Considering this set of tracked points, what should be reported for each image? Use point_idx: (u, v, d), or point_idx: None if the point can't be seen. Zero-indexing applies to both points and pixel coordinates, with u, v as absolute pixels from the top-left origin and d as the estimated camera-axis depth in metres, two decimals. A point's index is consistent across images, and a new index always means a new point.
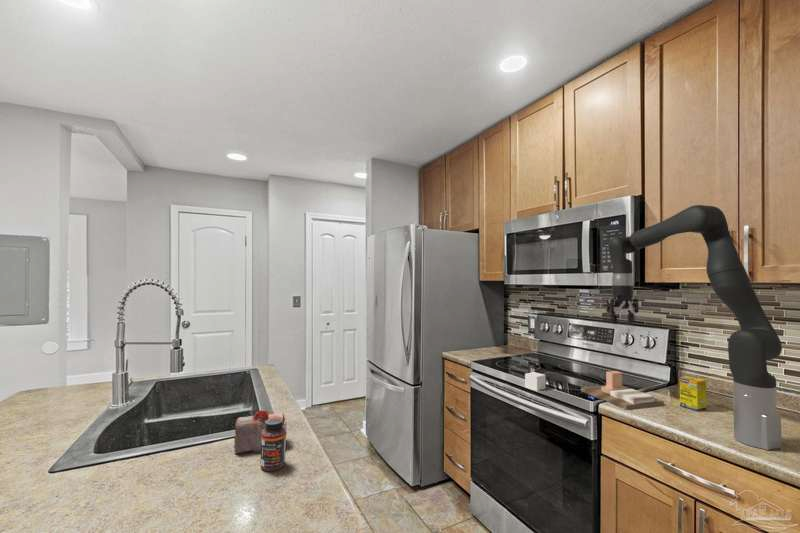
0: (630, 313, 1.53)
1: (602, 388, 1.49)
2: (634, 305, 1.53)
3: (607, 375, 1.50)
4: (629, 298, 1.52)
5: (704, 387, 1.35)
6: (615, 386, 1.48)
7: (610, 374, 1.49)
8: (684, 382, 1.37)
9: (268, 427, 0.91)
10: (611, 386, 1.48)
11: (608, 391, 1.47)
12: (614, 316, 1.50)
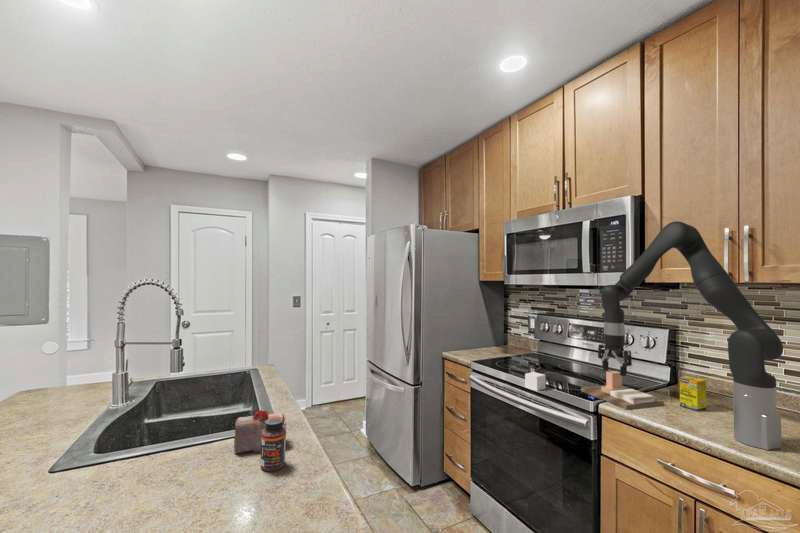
0: (606, 360, 1.54)
1: (602, 388, 1.49)
2: (603, 351, 1.56)
3: (607, 375, 1.50)
4: None
5: (704, 387, 1.35)
6: (615, 386, 1.48)
7: (610, 374, 1.49)
8: (684, 382, 1.37)
9: (268, 427, 0.91)
10: (611, 386, 1.48)
11: (608, 391, 1.47)
12: None
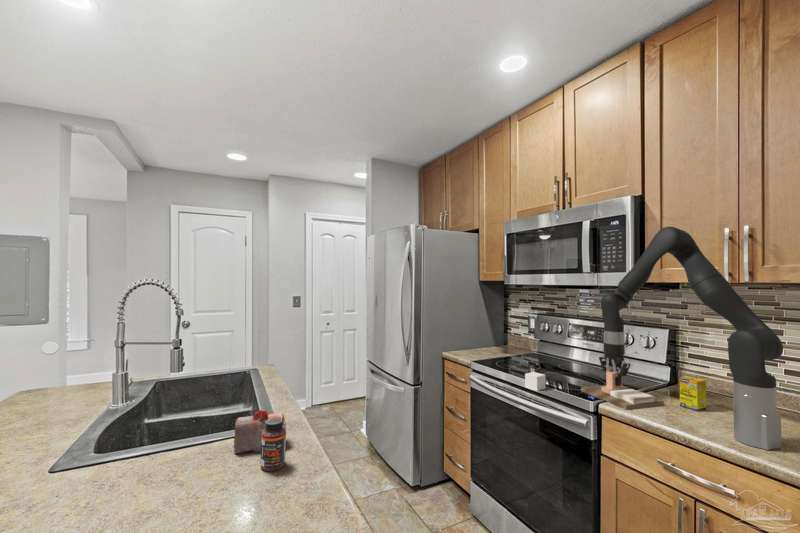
0: None
1: (602, 388, 1.49)
2: (606, 363, 1.55)
3: (607, 375, 1.50)
4: None
5: (704, 387, 1.35)
6: (615, 386, 1.48)
7: (610, 374, 1.49)
8: (684, 382, 1.37)
9: (268, 427, 0.91)
10: (611, 386, 1.48)
11: (608, 391, 1.47)
12: None
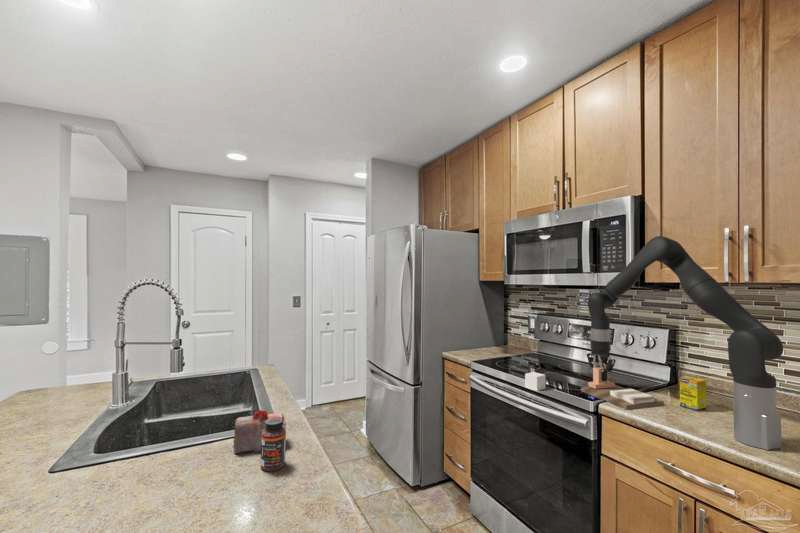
0: None
1: (589, 383, 1.56)
2: (593, 359, 1.61)
3: (594, 371, 1.57)
4: None
5: (704, 387, 1.35)
6: (601, 381, 1.55)
7: (596, 370, 1.55)
8: (684, 382, 1.37)
9: (268, 427, 0.91)
10: (597, 381, 1.55)
11: (594, 386, 1.53)
12: None
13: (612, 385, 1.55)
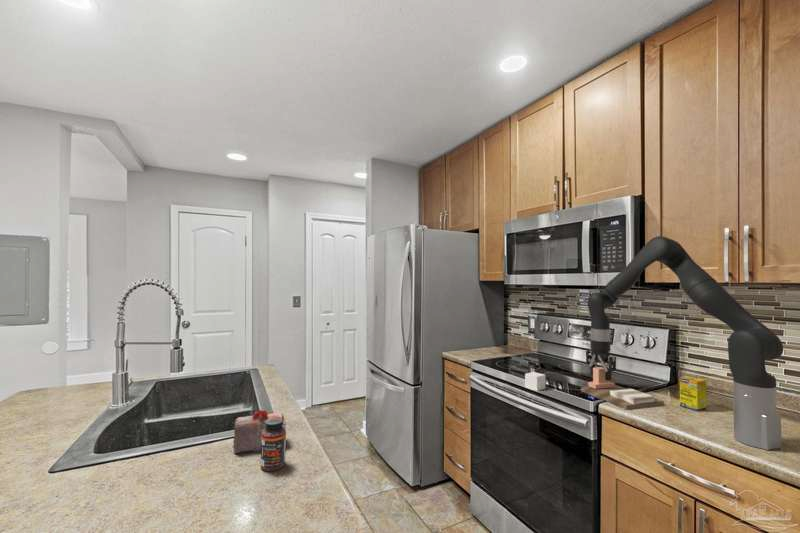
0: (593, 366, 1.60)
1: (589, 383, 1.56)
2: (591, 357, 1.62)
3: (594, 371, 1.57)
4: None
5: (704, 387, 1.35)
6: (601, 381, 1.55)
7: (596, 370, 1.55)
8: (684, 382, 1.37)
9: (268, 427, 0.91)
10: (597, 381, 1.55)
11: (594, 386, 1.53)
12: None
13: (612, 385, 1.55)
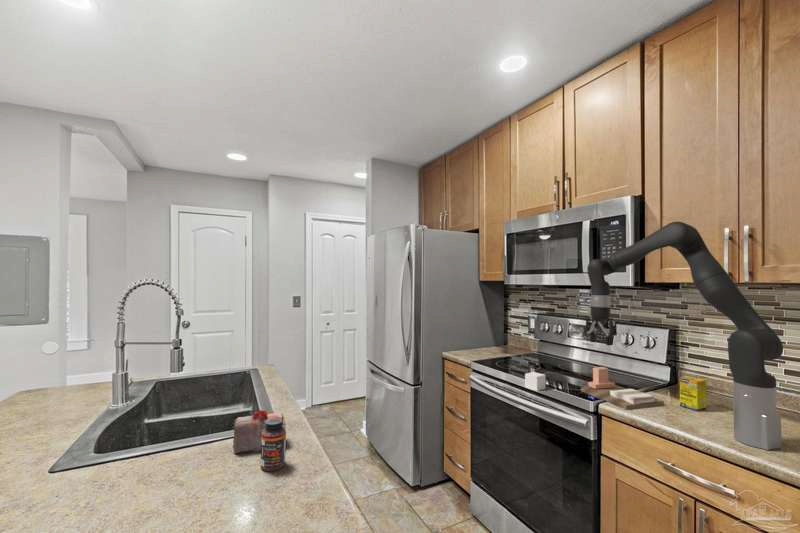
0: (593, 332, 1.61)
1: (589, 383, 1.56)
2: (590, 324, 1.63)
3: (594, 371, 1.57)
4: None
5: (704, 387, 1.35)
6: (601, 381, 1.55)
7: (596, 370, 1.55)
8: (684, 382, 1.37)
9: (268, 427, 0.91)
10: (597, 381, 1.55)
11: (594, 386, 1.53)
12: None
13: (612, 385, 1.55)
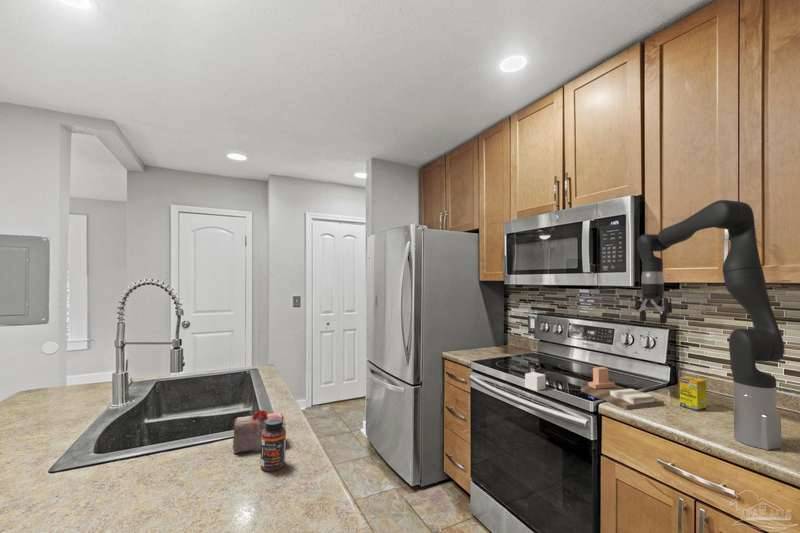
0: (643, 311, 1.54)
1: (589, 383, 1.56)
2: (640, 303, 1.56)
3: (594, 371, 1.57)
4: None
5: (704, 387, 1.35)
6: (601, 381, 1.55)
7: (596, 370, 1.55)
8: (684, 382, 1.37)
9: (268, 427, 0.91)
10: (597, 381, 1.55)
11: (594, 386, 1.53)
12: None
13: (612, 385, 1.55)
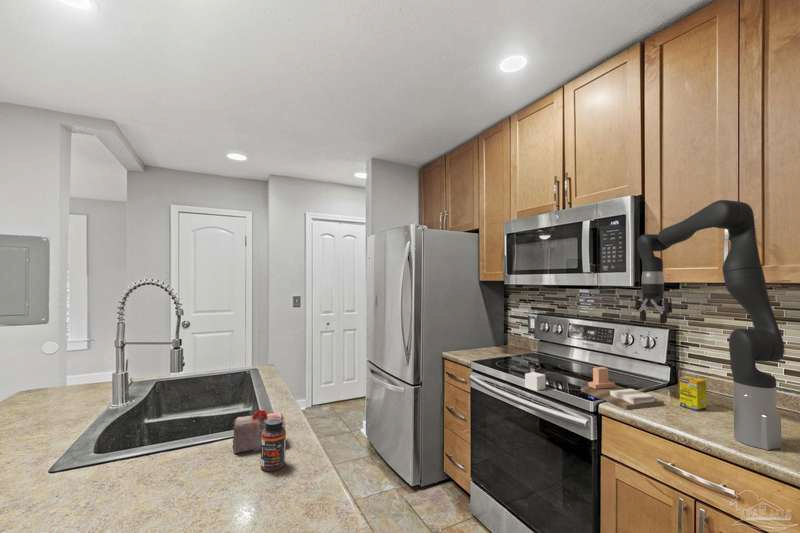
0: (643, 311, 1.54)
1: (589, 383, 1.56)
2: (640, 303, 1.56)
3: (594, 371, 1.57)
4: None
5: (704, 387, 1.35)
6: (601, 381, 1.55)
7: (596, 370, 1.55)
8: (684, 382, 1.37)
9: (268, 427, 0.91)
10: (597, 381, 1.55)
11: (594, 386, 1.53)
12: None
13: (612, 385, 1.55)
